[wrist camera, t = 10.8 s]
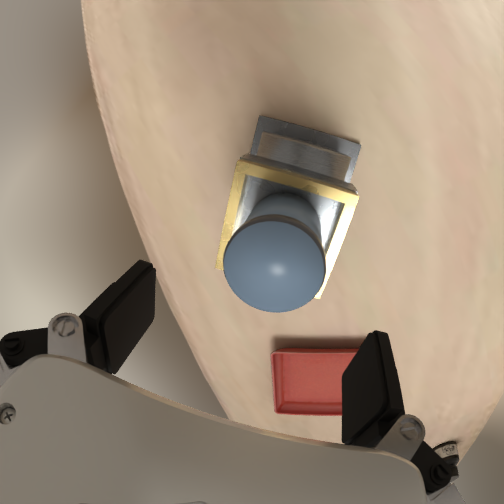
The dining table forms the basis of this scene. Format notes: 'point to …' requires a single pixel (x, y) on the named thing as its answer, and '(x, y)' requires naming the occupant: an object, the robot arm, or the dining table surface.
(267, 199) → the blue rounded cylinder
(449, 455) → the ink bottle
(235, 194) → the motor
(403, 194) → the dining table surface
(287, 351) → the plant saucer
